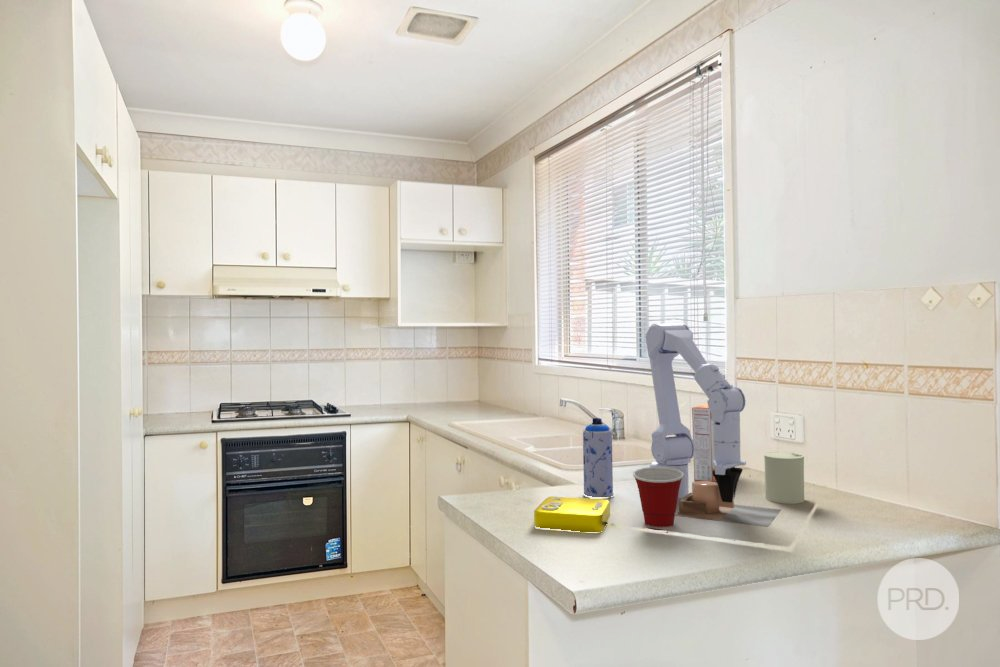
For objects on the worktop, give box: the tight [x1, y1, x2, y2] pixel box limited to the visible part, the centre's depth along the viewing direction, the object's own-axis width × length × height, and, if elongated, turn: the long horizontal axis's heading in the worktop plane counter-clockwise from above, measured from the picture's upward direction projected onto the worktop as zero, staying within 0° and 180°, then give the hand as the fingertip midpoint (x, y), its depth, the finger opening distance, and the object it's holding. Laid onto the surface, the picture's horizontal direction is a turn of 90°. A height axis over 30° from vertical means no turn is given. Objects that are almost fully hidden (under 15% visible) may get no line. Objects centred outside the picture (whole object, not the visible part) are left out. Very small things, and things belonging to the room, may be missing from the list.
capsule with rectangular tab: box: [691, 481, 735, 513], centre depth 163 cm, size 6×9×6 cm, turn 59°
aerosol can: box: [582, 417, 614, 497], centre depth 183 cm, size 8×8×20 cm
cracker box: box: [691, 403, 717, 482], centre depth 203 cm, size 14×6×21 cm, turn 144°
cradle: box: [675, 492, 782, 528], centre depth 161 cm, size 16×20×3 cm
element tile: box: [533, 496, 611, 532], centre depth 158 cm, size 15×15×5 cm
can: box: [763, 451, 806, 505], centre depth 173 cm, size 9×9×12 cm
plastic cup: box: [632, 466, 684, 531], centre depth 153 cm, size 11×11×12 cm
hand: (727, 500), depth 161 cm, fingers closed on capsule with rectangular tab
